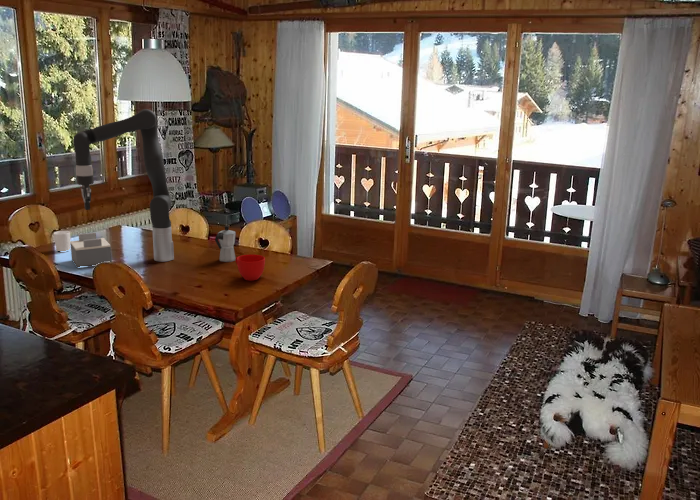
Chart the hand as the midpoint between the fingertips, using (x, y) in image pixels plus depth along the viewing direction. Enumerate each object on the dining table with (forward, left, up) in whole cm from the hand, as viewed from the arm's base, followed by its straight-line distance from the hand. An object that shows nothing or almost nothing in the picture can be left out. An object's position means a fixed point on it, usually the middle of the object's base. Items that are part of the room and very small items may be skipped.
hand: (87, 209), depth 323 cm
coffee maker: (-61, +25, -27) cm, 71 cm away
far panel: (0, -4, -18) cm, 18 cm away
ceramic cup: (-60, +57, -27) cm, 87 cm away
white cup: (+9, -28, -27) cm, 40 cm away
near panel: (0, +4, -18) cm, 18 cm away
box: (0, 0, -27) cm, 27 cm away
